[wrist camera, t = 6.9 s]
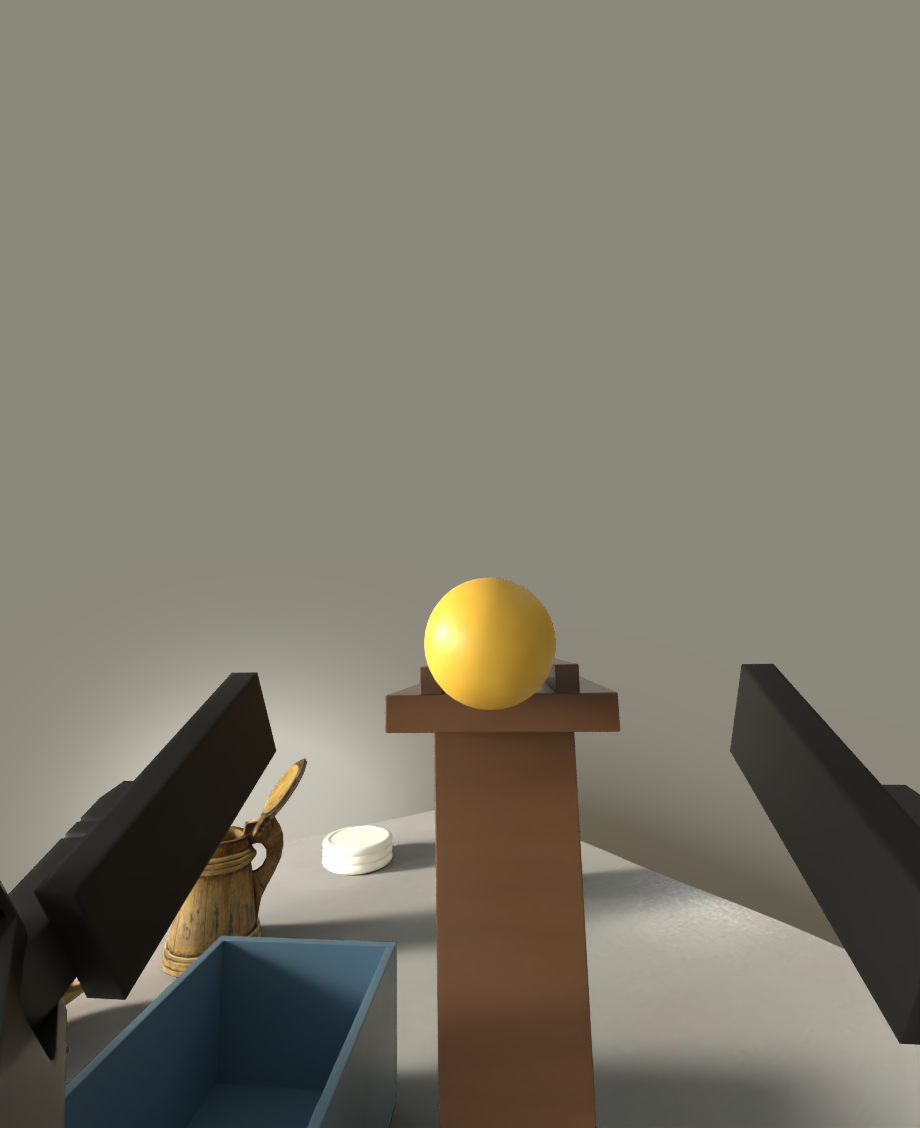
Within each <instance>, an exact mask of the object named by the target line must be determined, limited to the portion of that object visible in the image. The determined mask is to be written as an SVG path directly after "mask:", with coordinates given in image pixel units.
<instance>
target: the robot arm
mask: <svg viewBox="0 0 920 1128" xmlns="http://www.w3.org/2000/svg"><path fill="white" fill-rule="evenodd" d="M275 752H276V748H275V744H274V739H273V735H272V731H271V727H270V723H269V719H268V715H267V711H266V706H265V702H264V698H263V694H262V690H261V686H260V682H259V678H258V674H257V673H231V674H230V675H229V677H228V678H227V679H226V680H225V681H224V682H223V683H222V684H221V685H220V687H219V688H218V689H217V690H216V691H215V692H214V693H213V694H212V695H211V697H209V699H208V700H207V701H206V702H205V703H204V704H203V705H202V706H201V707H200V709H199V710H198V711H197V712H196V713H195V714H194V715H193V716H192V717H191V718H190V720H189V721H188V722H187V723H186V724H185V725H184V726H183V727H182V728H181V729H180V731H179V732H178V733H177V734H176V735H175V736H174V737H173V738H172V739H171V740H170V742H169V743H168V744H167V745H166V746H165V747H164V748H163V749H162V750H161V751H160V753H159V754H158V755H157V756H156V757H155V758H154V759H153V760H152V761H151V763H150V764H149V765H148V766H147V767H146V768H145V769H144V770H143V771H142V773H141V774H140V775H139V776H138V777H137V778H136V779H135V780H134V781H123V782H122V783H121V784H119V785H118V786H117V787H115V788H114V789H112V790H111V791H109V792H108V793H106V794H105V795H104V796H102V797H101V798H99V799H98V801H97V802H96V803H95V804H94V805H93V806H92V807H91V808H90V809H89V810H88V811H87V812H86V813H85V814H84V815H83V816H82V817H81V821H80V822H77V823H76V824H75V825H74V826H73V827H72V828H71V829H70V830H69V831H68V832H67V833H66V836H65V838H64V839H60V840H59V842H58V843H57V844H56V845H55V846H54V847H53V848H52V849H51V850H50V851H49V852H48V853H47V854H46V855H45V856H44V857H43V858H42V859H41V860H40V862H39V863H38V864H37V865H36V866H35V867H34V868H33V869H32V870H31V871H30V872H29V873H28V874H27V875H26V876H25V877H24V879H23V880H21V881H20V883H19V884H18V885H17V886H16V887H15V888H14V889H13V890H12V891H11V892H10V893H9V894H7V892H6V890H5V889H4V886H3V885H2V883H1V881H0V1128H65V1080H66V1030H67V1009H66V1006H65V1002H64V1000H63V998H62V997H63V995H64V994H65V992H66V991H67V989H68V988H69V987H70V985H71V984H72V982H73V981H74V980H75V978H76V977H77V979H78V981H79V983H80V985H81V987H82V989H83V991H84V993H85V995H86V996H87V998H101V999H119V1000H125V999H126V998H127V996H128V995H129V993H130V991H131V990H132V988H133V986H134V985H135V983H136V981H137V980H138V978H139V976H140V975H141V973H142V971H143V970H144V968H145V966H146V965H147V963H148V962H149V960H150V958H151V957H152V955H153V953H154V952H155V950H156V948H157V947H158V945H159V943H160V942H161V940H162V938H163V937H164V935H165V933H166V932H167V930H168V929H169V927H170V925H171V924H172V922H173V920H174V919H175V917H176V915H177V914H178V912H179V910H180V909H181V907H182V905H183V904H184V902H185V901H186V899H187V897H188V896H189V894H190V892H191V891H192V889H193V887H194V886H195V884H196V882H197V881H198V879H199V877H200V876H201V874H202V872H203V871H204V869H205V868H206V866H207V864H208V863H209V861H210V859H211V858H212V856H213V854H214V853H215V851H216V849H217V848H218V846H219V844H220V843H221V841H222V839H223V838H224V836H225V835H226V833H227V831H228V830H229V828H230V826H231V824H232V823H233V821H234V820H235V818H236V816H237V815H238V813H239V811H240V810H241V808H242V806H243V805H244V803H245V801H246V800H247V798H248V797H249V795H250V793H251V792H252V790H253V788H254V787H255V785H256V783H257V782H258V780H259V778H260V777H261V775H262V774H263V772H264V770H265V769H266V767H267V765H268V764H269V762H270V760H271V759H272V757H273V755H274V754H275ZM730 752H731V753H732V755H733V757H734V758H735V760H736V762H737V764H738V765H739V767H740V769H741V771H742V772H743V774H744V776H745V777H746V779H747V781H748V783H749V784H750V786H751V788H752V790H753V791H754V793H755V795H756V796H757V798H758V800H759V801H760V803H761V805H762V807H763V808H764V810H765V812H766V814H767V815H768V817H769V819H770V820H771V822H772V824H773V826H774V827H775V829H776V831H777V833H778V834H779V836H780V838H781V840H782V841H783V842H784V845H785V846H786V848H787V850H788V852H789V853H790V855H791V857H792V858H793V860H794V862H795V864H796V865H797V867H798V869H799V870H800V872H801V874H802V876H803V877H804V879H805V881H806V883H807V884H808V886H809V888H810V889H811V891H812V893H813V895H814V896H815V898H816V900H817V902H818V903H819V905H820V907H821V908H822V910H823V912H824V914H825V915H826V917H827V919H828V920H829V922H830V924H831V926H832V927H833V929H834V931H835V933H836V934H837V936H838V938H839V939H840V941H841V943H842V944H843V946H844V948H845V950H846V952H847V953H848V955H849V957H850V958H851V960H852V962H853V964H854V965H855V967H856V969H857V971H858V972H859V974H860V976H861V977H862V979H863V981H864V983H865V984H866V986H867V988H868V989H869V991H870V993H871V995H872V996H873V998H874V1000H875V1002H876V1003H877V1005H878V1007H879V1008H880V1010H881V1012H882V1014H883V1015H884V1017H885V1019H886V1021H887V1022H888V1024H889V1026H890V1027H891V1029H892V1031H893V1033H894V1034H895V1036H896V1038H897V1039H898V1041H899V1043H900V1044H917V1045H920V794H918V793H917V792H915V791H914V790H912V789H911V788H909V787H908V786H906V785H881V784H880V783H879V781H878V780H877V779H876V778H875V777H874V776H873V775H872V774H871V772H869V770H868V769H867V768H866V767H865V766H864V765H863V764H862V763H861V761H860V760H859V759H858V758H857V757H856V756H855V755H854V754H853V752H852V751H851V750H850V749H849V748H848V747H847V746H846V745H845V744H844V743H843V741H842V740H841V739H840V738H839V737H838V736H837V735H836V734H835V732H834V731H833V730H832V729H831V728H830V727H829V726H828V725H827V723H826V722H825V721H824V720H823V719H822V718H821V717H820V716H819V714H818V713H817V712H816V711H815V710H814V709H813V708H812V707H811V706H810V704H809V703H808V702H807V701H806V700H805V699H804V698H803V697H802V696H801V695H800V694H799V692H798V691H797V690H796V689H795V688H794V687H793V685H792V684H791V683H790V682H789V681H788V680H787V679H786V678H785V677H784V675H783V674H782V673H781V672H780V671H779V670H778V669H777V668H776V666H775V665H774V664H742V666H741V673H740V681H739V688H738V696H737V704H736V711H735V718H734V726H733V734H732V741H731V748H730Z"/></svg>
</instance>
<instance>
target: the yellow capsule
mask: <svg viewBox="0 0 920 1128" xmlns="http://www.w3.org/2000/svg"><path fill="white" fill-rule="evenodd" d="M424 646H425V655H426V660H427V663H428V666H429V669H430V671H431V673H432V675H433V677H434V679H435V681H436V682H437V683H438V684H439V685H440V687H441V688H442V689H443V690H444V691H445V692H446V693H447V694H448V695H450V696H451V697H452V698H453V699H455V700H456V701H458V702H460V703H462V704H464V705H466V706H469V707H473V708H476V709H482V710H500V709H505V708H509V707H512V706H515V705H518V704H519V703H521V702H523V701H525V700H527V699H528V698H529V697H531V696H532V695H533V694H534V693H535V692H536V691H537V690H538V689H539V688H540V687H541V686H542V685H543V683H544V682H545V680H546V679H547V677H548V675H549V673H550V671H551V668H552V666H553V662H554V659H555V651H556V638H555V631H554V627H553V624H552V621H551V618H550V616H549V614H548V612H547V611H546V609H545V607H544V606H543V604H542V603H541V602H540V601H539V600H538V599H537V598H536V597H535V596H534V595H533V594H532V593H531V592H529V591H528V590H527V589H525V588H524V587H522V586H520V585H518V584H516V583H514V582H512V581H508V580H504V579H500V578H480V579H474V580H471V581H468V582H465V583H462V584H461V585H459V586H457V587H455V588H454V589H452V590H451V591H450V592H449V593H447V594H446V595H445V596H444V597H443V598H442V599H441V600H440V602H439V603H438V604H437V605H436V607H435V608H434V610H433V612H432V614H431V616H430V618H429V620H428V624H427V628H426V631H425V642H424Z"/></svg>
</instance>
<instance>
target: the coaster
mask: <svg viewBox="0 0 920 1128" xmlns="http://www.w3.org/2000/svg"><path fill="white" fill-rule="evenodd" d="M392 840H393V837H392V834H391V832H390V831H388V830H387V829H385V828H382V827H377V826H354V827H348V828H343V829H340V830H337V831H334V832H332V833H330V834H329V835H328V836H327V837H326V838H325V839H324V841H323V847H324V849H323V861H322V862H323V866H324V867H325V868H326V869H327V870H329V871H331V872H333V873H337V874H345V875H355V874H364V873H369V872H372V871H376V870H378V869H381V868H383V867H384V866H386V865H387V864H388V863H389V862H390V861H391V859H392V856H393V853H392V848H393V845H392Z"/></svg>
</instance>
